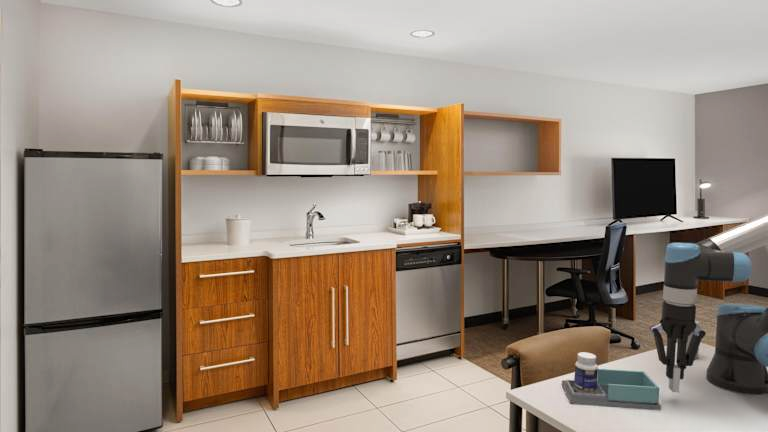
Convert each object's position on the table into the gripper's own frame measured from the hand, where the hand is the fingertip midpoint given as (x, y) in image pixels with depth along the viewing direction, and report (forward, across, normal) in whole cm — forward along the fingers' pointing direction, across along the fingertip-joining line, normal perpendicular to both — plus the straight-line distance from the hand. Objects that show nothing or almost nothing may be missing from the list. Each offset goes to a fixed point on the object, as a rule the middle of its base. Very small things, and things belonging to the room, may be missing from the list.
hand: (673, 390), depth 132 cm
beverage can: (+3, -18, -35) cm, 40 cm away
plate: (+3, +16, 0) cm, 16 cm away
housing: (+2, +12, 0) cm, 12 cm away
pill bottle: (+2, +22, 0) cm, 22 cm away
